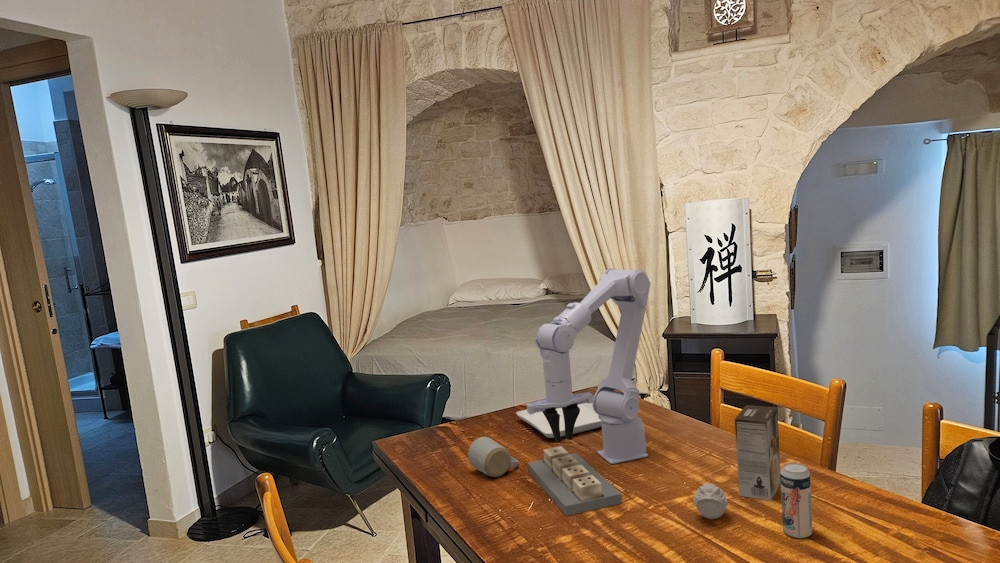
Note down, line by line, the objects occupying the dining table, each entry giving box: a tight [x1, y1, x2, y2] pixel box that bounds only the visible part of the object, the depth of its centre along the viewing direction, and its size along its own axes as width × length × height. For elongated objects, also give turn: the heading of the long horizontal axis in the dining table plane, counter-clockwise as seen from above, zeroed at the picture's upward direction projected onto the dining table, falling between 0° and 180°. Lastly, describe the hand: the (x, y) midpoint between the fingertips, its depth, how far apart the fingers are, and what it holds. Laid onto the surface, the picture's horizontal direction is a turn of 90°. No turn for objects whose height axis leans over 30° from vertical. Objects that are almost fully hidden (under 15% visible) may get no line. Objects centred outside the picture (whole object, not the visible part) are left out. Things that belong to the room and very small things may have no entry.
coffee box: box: [734, 404, 781, 502], centre depth 135 cm, size 9×6×16 cm
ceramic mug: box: [467, 436, 519, 478], centre depth 158 cm, size 11×8×8 cm
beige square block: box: [572, 475, 602, 502], centre depth 137 cm, size 4×4×3 cm
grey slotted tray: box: [526, 452, 623, 517], centre depth 146 cm, size 12×24×2 cm, turn 16°
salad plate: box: [515, 403, 602, 439], centre depth 185 cm, size 21×21×3 cm
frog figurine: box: [693, 482, 729, 520], centre depth 126 cm, size 6×7×7 cm
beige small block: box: [562, 465, 590, 490], centre depth 143 cm, size 4×4×3 cm
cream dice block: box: [552, 454, 578, 479], centre depth 148 cm, size 4×4×3 cm
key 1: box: [542, 445, 569, 469], centre depth 154 cm, size 4×4×3 cm
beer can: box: [780, 462, 814, 539], centre depth 118 cm, size 5×5×12 cm
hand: (563, 439), depth 148 cm, fingers open, 2 cm apart
